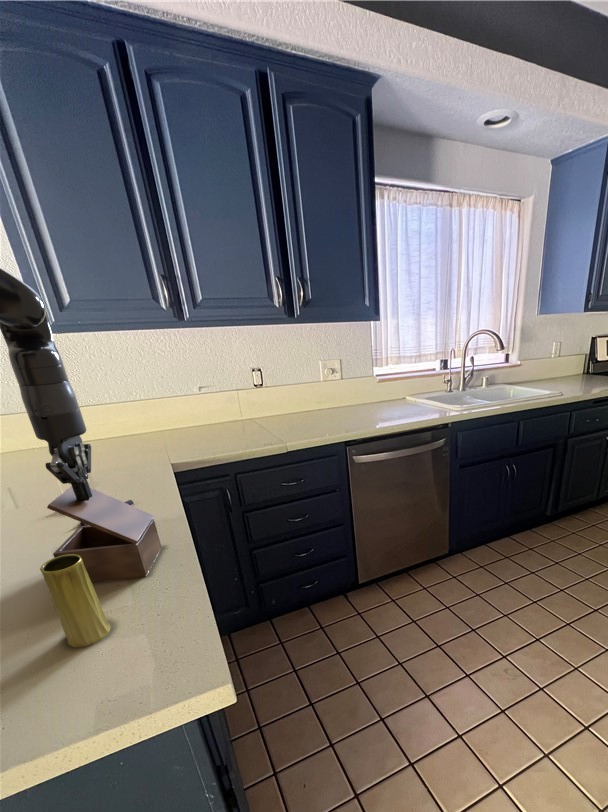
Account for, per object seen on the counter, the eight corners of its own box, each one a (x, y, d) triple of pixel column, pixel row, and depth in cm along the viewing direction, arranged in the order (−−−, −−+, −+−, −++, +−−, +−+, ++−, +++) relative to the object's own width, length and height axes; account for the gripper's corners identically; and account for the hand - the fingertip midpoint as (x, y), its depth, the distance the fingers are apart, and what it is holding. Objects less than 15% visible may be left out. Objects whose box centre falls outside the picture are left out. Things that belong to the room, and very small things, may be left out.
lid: (46, 508, 76) (48, 504, 76) (75, 484, 86) (77, 481, 86) (135, 544, 82) (137, 541, 82) (152, 518, 92) (154, 515, 92)
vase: (97, 620, 74) (69, 549, 68) (119, 630, 72) (93, 557, 65) (60, 642, 69) (27, 568, 63) (83, 654, 67) (51, 578, 60)
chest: (66, 588, 83) (52, 553, 80) (91, 557, 93) (79, 526, 90) (147, 578, 85) (137, 544, 82) (162, 550, 96) (153, 519, 92)
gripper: (48, 403, 80) (78, 488, 87) (7, 418, 68) (46, 516, 76) (92, 401, 81) (118, 485, 89) (59, 416, 70) (92, 511, 77)
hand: (85, 499), depth 82 cm, fingers closed
